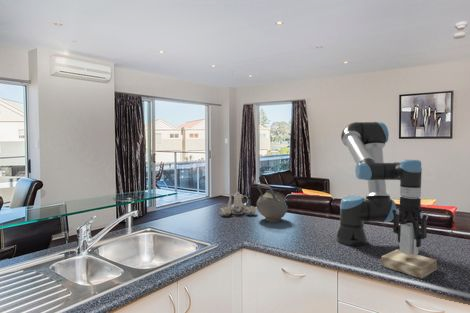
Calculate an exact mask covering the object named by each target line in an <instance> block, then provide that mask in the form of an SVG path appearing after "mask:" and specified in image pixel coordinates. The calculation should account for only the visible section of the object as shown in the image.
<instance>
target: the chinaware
mask: <svg viewBox="0 0 470 313" xmlns="http://www.w3.org/2000/svg"><path fill="white" fill-rule="evenodd" d="M244 197H246V198H247V202H245V203H243V201H242V200H243V199H244ZM249 199H250V198H249V197H248V196H247V195H243V194H241V193H240V192H239V191H238V190H237V191H236V193H235V194H233V204H232V195H230V194H229V195H228V202H227V206H224V207H220V209H219V213H222V215H224V216H225V217H229V216H230V215H231V213H232V214H233V215H243V214H244V212H245V211H246V213H247V214H248V216H253V215H254V214H255V213H256V214H257V213H259V211H258V209H257V206H254V205H250V206H247V204H248V203H249ZM256 210H257V211H256ZM221 211H222V212H221Z"/></svg>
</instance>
